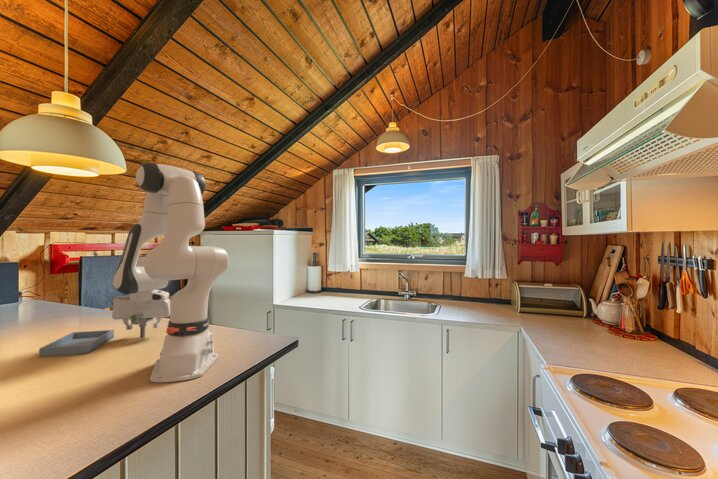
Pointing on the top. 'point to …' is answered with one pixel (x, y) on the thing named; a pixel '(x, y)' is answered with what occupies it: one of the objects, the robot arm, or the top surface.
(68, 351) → the parts tray
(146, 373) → the top surface
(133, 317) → the mechanical component
